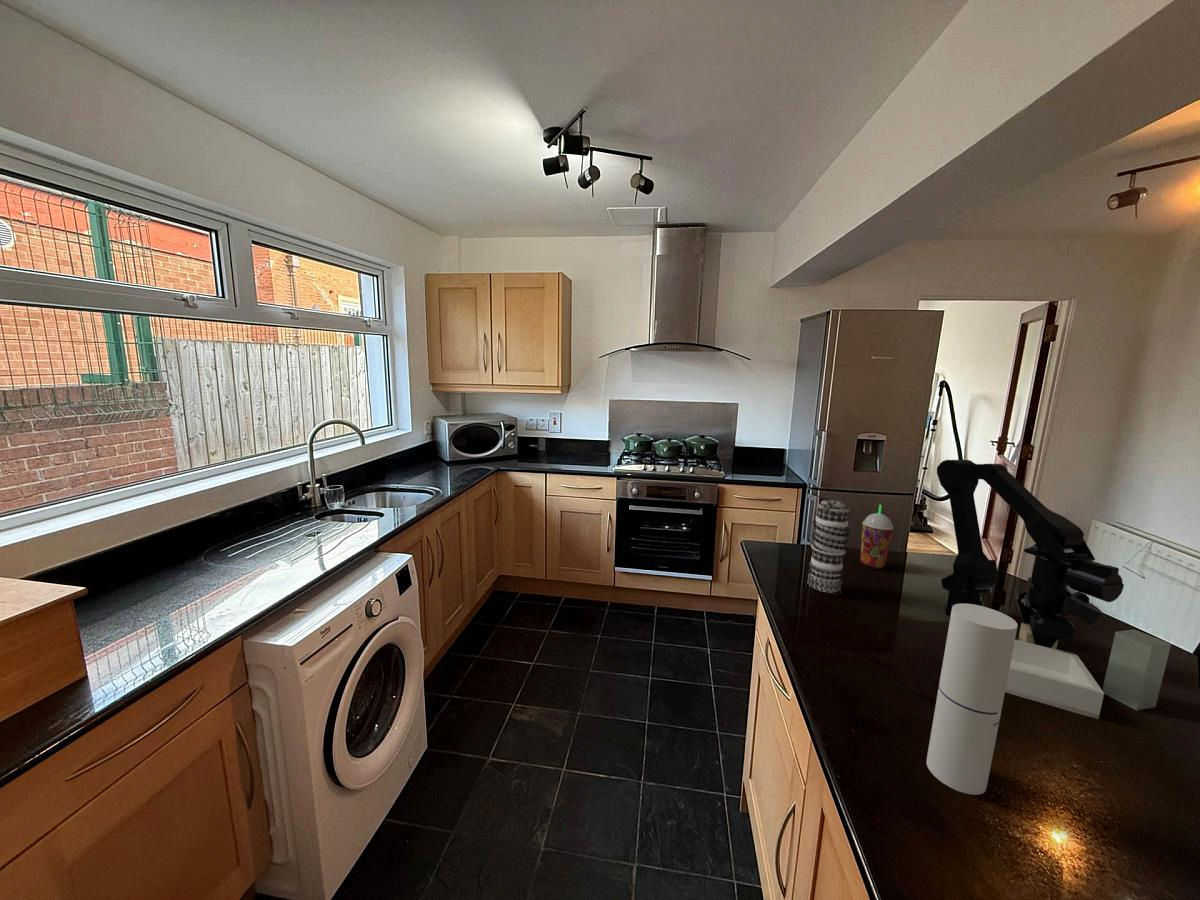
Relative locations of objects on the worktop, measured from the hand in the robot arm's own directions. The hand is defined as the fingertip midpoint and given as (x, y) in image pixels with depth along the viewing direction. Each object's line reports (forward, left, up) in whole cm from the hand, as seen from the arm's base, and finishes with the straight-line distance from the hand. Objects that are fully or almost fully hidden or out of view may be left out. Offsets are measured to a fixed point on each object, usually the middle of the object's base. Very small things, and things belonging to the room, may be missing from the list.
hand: (1035, 647), depth 103 cm
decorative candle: (-43, +6, -1) cm, 43 cm away
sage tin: (+11, -11, -1) cm, 16 cm away
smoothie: (-32, +34, -1) cm, 47 cm away
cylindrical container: (-19, -51, -1) cm, 54 cm away
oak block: (0, 0, -1) cm, 1 cm away
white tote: (-5, -15, -1) cm, 16 cm away
